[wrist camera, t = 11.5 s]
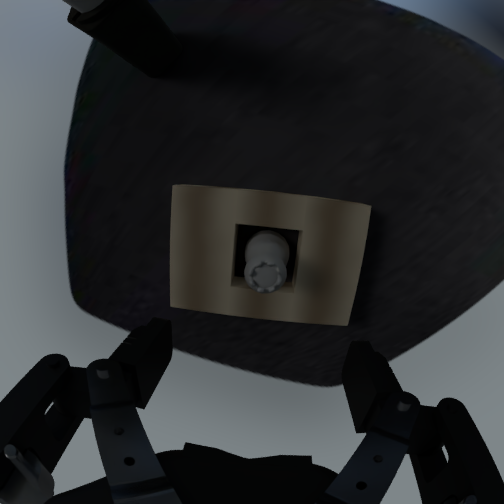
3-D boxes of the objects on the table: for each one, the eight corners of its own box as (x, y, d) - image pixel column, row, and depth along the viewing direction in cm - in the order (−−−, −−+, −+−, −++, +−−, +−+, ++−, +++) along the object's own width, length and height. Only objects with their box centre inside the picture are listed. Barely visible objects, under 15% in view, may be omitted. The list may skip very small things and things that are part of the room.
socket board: (361, 203, 26) (371, 206, 23) (341, 312, 29) (347, 325, 26) (182, 184, 27) (172, 185, 24) (179, 295, 30) (170, 306, 27)
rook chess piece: (275, 279, 29) (275, 315, 21) (237, 258, 29) (224, 288, 21) (297, 243, 28) (307, 267, 20) (258, 220, 27) (253, 237, 20)
